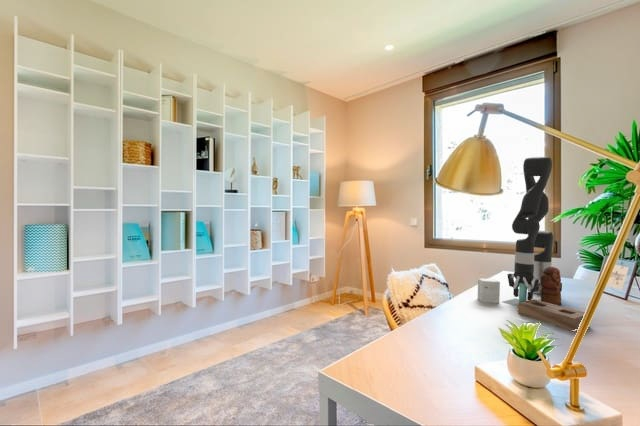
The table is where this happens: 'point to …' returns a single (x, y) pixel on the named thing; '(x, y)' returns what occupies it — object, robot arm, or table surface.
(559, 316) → the socket block
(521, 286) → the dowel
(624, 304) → the table surface
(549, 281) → the wooden figurine
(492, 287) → the small box
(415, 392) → the table surface
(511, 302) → the mat
